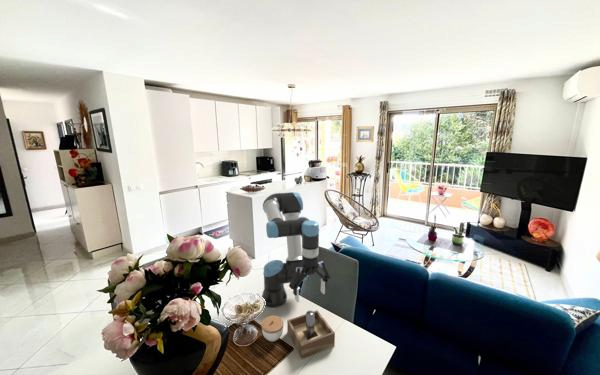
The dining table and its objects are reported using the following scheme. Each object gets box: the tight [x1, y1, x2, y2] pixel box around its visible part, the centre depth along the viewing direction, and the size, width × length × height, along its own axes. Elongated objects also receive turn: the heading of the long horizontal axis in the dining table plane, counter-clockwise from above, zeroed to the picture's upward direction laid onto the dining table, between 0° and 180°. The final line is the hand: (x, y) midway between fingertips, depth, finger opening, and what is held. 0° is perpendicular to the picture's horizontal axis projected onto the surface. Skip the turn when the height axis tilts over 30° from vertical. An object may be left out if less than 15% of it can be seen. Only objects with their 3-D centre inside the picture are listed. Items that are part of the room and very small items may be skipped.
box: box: [286, 310, 336, 360], centre depth 120 cm, size 17×17×7 cm
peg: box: [305, 310, 315, 340], centre depth 120 cm, size 4×4×14 cm
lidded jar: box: [260, 315, 285, 343], centre depth 122 cm, size 11×11×9 cm
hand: (310, 296), depth 117 cm, fingers open, 13 cm apart
